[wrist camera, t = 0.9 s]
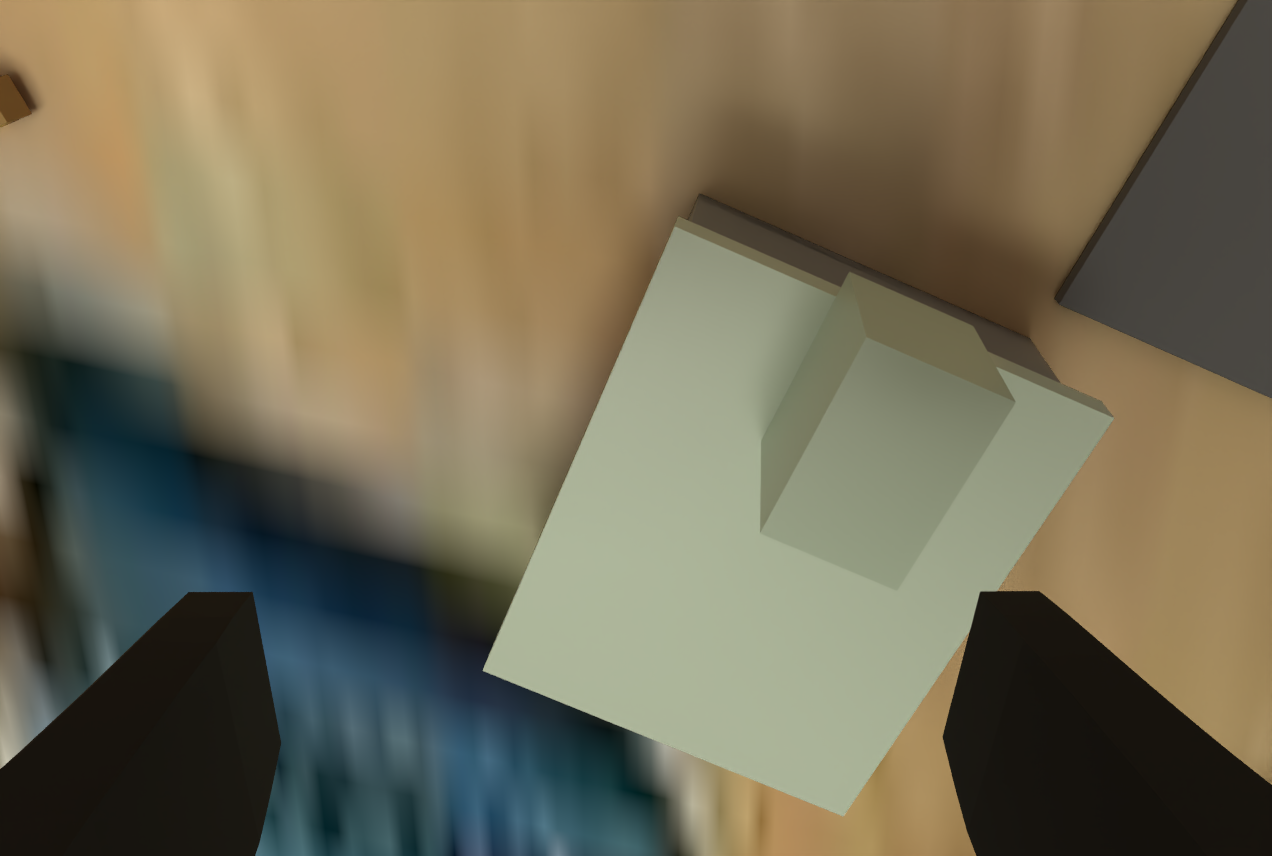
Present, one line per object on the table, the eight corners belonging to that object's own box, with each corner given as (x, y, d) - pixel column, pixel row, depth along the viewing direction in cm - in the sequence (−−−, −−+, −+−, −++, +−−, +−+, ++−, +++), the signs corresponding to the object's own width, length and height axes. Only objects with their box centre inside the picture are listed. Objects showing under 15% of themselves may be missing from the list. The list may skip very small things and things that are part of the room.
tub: (1029, 338, 23) (1077, 408, 20) (826, 668, 27) (835, 776, 24) (699, 193, 23) (686, 237, 19) (542, 551, 27) (508, 643, 23)
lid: (1107, 367, 20) (1205, 484, 15) (839, 772, 25) (855, 952, 20) (691, 184, 19) (669, 251, 15) (497, 632, 24) (436, 786, 20)
